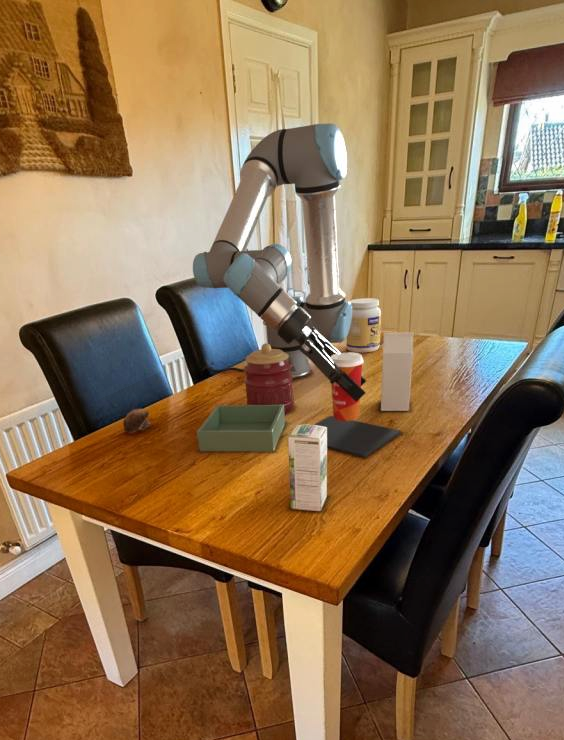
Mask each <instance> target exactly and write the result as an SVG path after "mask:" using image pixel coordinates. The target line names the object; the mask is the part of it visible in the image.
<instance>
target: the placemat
mask: <svg viewBox="0 0 564 740" xmlns="http://www.w3.org/2000/svg"><path fill="white" fill-rule="evenodd" d="M313 425H318V426H324V427H327V449H330V450H332V451H337V452H340V453H344V454H348V455H352V456H356V457H359V458H363V459H365V458H366V457H367V456H370V454H372V453H374V452H375V451H376V450H378V449H380V448H381V447H382V446H384V445H385V444H387V443H388V442H390V441H391V440H393V439H395V438H396V437H397V436H399V435H400V434H401V430H398V429H394V428H389V427H385V426H380V425H376V424H372V423H366V422H363V421H357V420H352V421H339V420H336V419H335V418H334V415H330V416H328V417H325V418H323V419H322V420H320V421H318V422H317V423H314V424H313Z"/></svg>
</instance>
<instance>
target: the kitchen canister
mask: <svg viewBox="0 0 564 740" xmlns="http://www.w3.org/2000/svg"><path fill="white" fill-rule="evenodd" d="M260 348H261V349H257V350H254V351H252V352H250V353H249V354H248V355H247V356H246V357H245V362H247V363H246V364H245V365H244V366H243V367H242V369H243V370H244V371H245V372H244V373H245V378H244V385H245V394H246V405H284V412H285V414H288V413H290V412H291V411H293V410H294V405H295V398H294V388H293V380H292V379H293V376H292V375H291V371H290V369H291V367H292V363H291V362H289V361H288V360H287V359H288V357H289V356H288V354H286V353H284V352H283V351H282V350H279V349H271V346H270V344H268V343H267V342H265V343H263V344H262V345H261V347H260Z"/></svg>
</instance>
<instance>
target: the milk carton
mask: <svg viewBox="0 0 564 740" xmlns="http://www.w3.org/2000/svg"><path fill="white" fill-rule="evenodd" d="M413 356H414V331H409V332H407V331H406V332H405V331H404V332H384V333H383V345H382V364H381V365H382V368H381V391H380V392H381V393H380V411H381V412H409V411H410V400H411V399H410V397H411V385H412V370H413V358H414V357H413Z"/></svg>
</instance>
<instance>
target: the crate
mask: <svg viewBox="0 0 564 740" xmlns="http://www.w3.org/2000/svg"><path fill="white" fill-rule="evenodd" d="M285 425H286V413H285V412H284V405H247V404H229V405H228V404H222V405H215V407H214V408H213V410H211V413H210V414H208V416H207V418H206V419H205V420H204V422H202V424H201V425H200V427H199V428H198V429H197V430H196V435H197V442H198V448H199V452H259V453H260V452H261V453H263V452H264V453H266V452H268V453H269V452H270V453H271V452H272V453H273V452H275V450H276V447H277V445H278V442H279V440H280V438H281V434H282V433H283V429H284V427H285Z"/></svg>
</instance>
